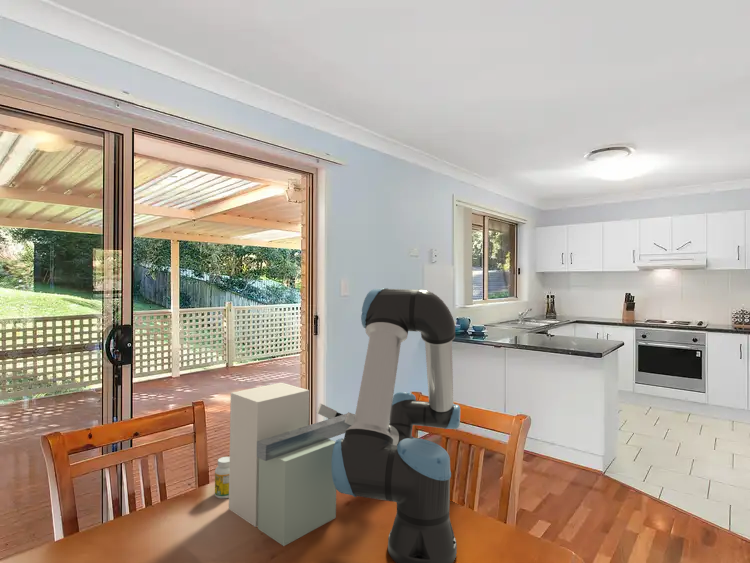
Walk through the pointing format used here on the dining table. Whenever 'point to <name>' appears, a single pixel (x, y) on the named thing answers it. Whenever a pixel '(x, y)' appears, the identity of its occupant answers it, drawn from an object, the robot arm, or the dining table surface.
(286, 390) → the two-step stand
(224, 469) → the supplement bottle
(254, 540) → the dining table surface
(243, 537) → the dining table surface
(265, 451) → the steel block
